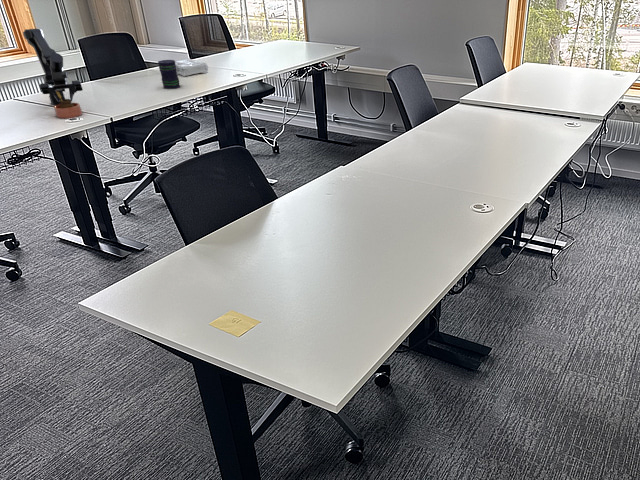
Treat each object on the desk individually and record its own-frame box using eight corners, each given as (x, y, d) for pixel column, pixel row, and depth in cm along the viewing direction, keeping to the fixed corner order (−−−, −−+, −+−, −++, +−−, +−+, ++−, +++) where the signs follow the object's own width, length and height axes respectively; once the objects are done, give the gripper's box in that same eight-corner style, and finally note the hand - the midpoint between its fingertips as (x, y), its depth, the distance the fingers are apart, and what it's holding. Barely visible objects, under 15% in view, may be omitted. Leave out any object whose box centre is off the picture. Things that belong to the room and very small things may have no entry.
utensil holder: (78, 112, 297) (70, 89, 290) (69, 115, 292) (61, 91, 285) (68, 112, 298) (61, 88, 291) (59, 115, 293) (52, 91, 286)
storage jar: (164, 89, 342) (158, 63, 334) (162, 86, 350) (157, 60, 342) (181, 88, 346) (175, 62, 338) (179, 84, 353) (174, 59, 345)
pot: (75, 111, 302) (72, 101, 299) (86, 114, 296) (83, 104, 293) (52, 115, 294) (49, 106, 291) (64, 119, 288) (60, 109, 285)
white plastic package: (189, 66, 399) (186, 55, 395) (209, 72, 383) (207, 60, 379) (163, 70, 388) (160, 59, 384) (183, 77, 372) (181, 64, 367)
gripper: (33, 67, 281) (40, 94, 279) (74, 63, 288) (82, 90, 286) (39, 80, 292) (46, 107, 289) (79, 76, 299) (86, 102, 296)
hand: (65, 101), depth 290 cm, fingers open, 5 cm apart
